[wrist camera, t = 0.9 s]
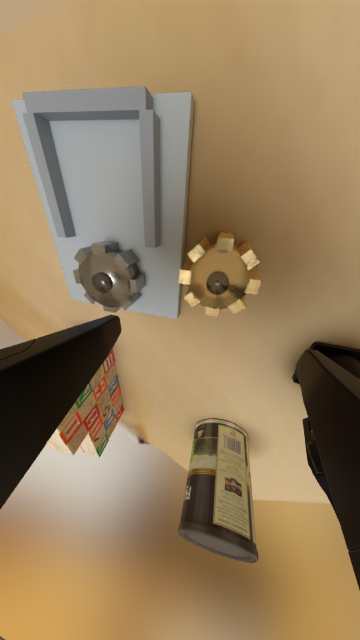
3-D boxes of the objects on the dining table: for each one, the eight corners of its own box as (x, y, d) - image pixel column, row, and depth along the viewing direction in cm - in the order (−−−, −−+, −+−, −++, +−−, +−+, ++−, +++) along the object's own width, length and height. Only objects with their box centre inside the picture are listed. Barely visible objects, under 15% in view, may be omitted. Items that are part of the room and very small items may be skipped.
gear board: (194, 101, 13) (186, 78, 10) (179, 314, 22) (174, 325, 20) (25, 107, 15) (-9, 89, 13) (77, 296, 25) (63, 304, 23)
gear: (144, 245, 18) (129, 250, 15) (146, 307, 21) (136, 319, 19) (81, 237, 19) (59, 241, 16) (95, 298, 23) (78, 308, 20)
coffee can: (196, 441, 38) (181, 541, 27) (193, 414, 33) (173, 523, 21) (246, 452, 36) (254, 569, 24) (251, 424, 30) (264, 555, 19)
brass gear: (263, 235, 16) (276, 244, 12) (244, 301, 19) (248, 326, 15) (192, 229, 17) (179, 234, 13) (186, 292, 20) (175, 312, 16)
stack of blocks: (125, 410, 39) (88, 480, 29) (100, 403, 40) (56, 467, 30) (110, 334, 28) (40, 406, 17) (76, 327, 29) (-9, 390, 18)
